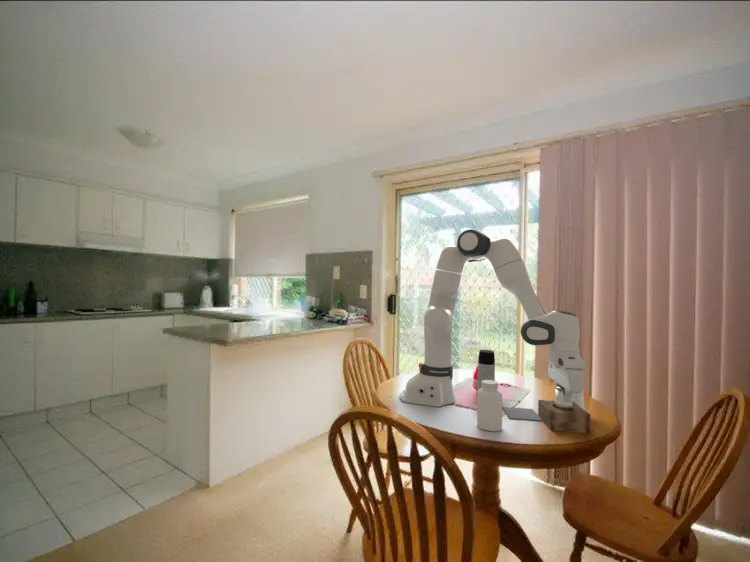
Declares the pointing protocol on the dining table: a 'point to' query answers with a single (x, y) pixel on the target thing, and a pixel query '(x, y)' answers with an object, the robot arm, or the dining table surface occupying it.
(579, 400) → the cosmetic bottle
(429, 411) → the dining table surface
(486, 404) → the pill bottle
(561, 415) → the socket block
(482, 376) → the spray can
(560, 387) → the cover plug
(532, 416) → the mat
